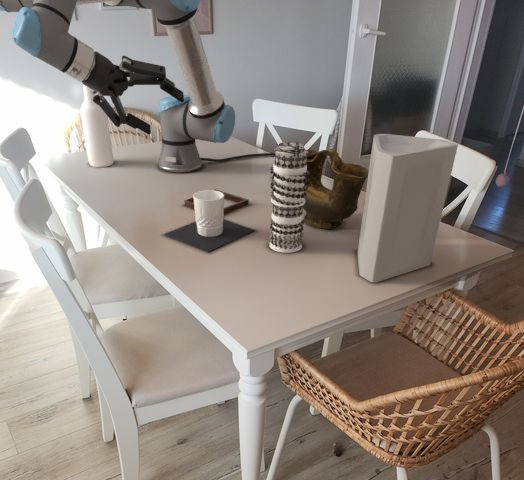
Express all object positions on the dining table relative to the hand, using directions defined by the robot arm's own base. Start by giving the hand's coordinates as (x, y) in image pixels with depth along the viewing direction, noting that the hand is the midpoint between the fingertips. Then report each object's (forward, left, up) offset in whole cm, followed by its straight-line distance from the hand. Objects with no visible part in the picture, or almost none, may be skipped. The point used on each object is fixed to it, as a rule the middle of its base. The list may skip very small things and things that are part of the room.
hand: (165, 114), depth 129 cm
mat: (+1, +15, -27) cm, 31 cm away
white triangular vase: (-15, +58, -28) cm, 66 cm away
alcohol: (-18, -57, -28) cm, 66 cm away
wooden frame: (-16, +2, -27) cm, 32 cm away
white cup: (+1, +15, -27) cm, 31 cm away
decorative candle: (-6, +35, -28) cm, 45 cm away
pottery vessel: (-26, +33, -28) cm, 50 cm away
